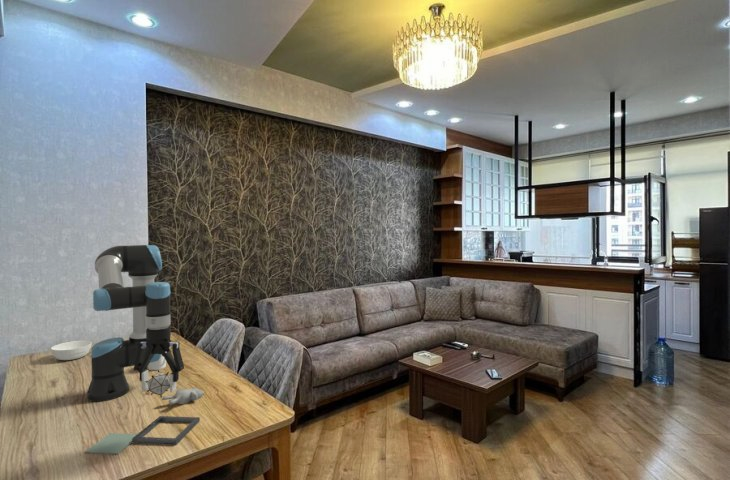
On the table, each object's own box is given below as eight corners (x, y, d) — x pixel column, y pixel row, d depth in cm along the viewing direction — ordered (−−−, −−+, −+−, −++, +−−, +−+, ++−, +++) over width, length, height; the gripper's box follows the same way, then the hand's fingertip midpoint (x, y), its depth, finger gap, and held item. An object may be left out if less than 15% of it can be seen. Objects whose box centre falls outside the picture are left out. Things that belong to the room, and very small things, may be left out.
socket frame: (132, 443, 127) (132, 438, 126) (160, 419, 142) (160, 416, 142) (176, 444, 125) (176, 440, 125) (199, 421, 141) (199, 417, 141)
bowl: (98, 356, 214) (98, 343, 214) (58, 366, 198) (58, 352, 198) (84, 350, 224) (83, 338, 224) (45, 359, 208) (45, 346, 208)
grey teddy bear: (207, 389, 160) (172, 397, 148) (206, 401, 160) (170, 410, 148) (196, 383, 166) (161, 391, 154) (195, 395, 166) (159, 404, 154)
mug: (143, 369, 193) (142, 349, 193) (158, 363, 201) (158, 344, 201) (158, 372, 189) (158, 352, 189) (173, 366, 197) (173, 347, 197)
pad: (85, 452, 121) (85, 451, 121) (110, 434, 132) (110, 433, 132) (117, 454, 120) (117, 452, 120) (140, 435, 131) (140, 434, 131)
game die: (156, 403, 134) (154, 376, 138) (180, 394, 134) (176, 367, 139) (141, 401, 126) (138, 372, 130) (166, 391, 126) (162, 362, 131)
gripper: (120, 329, 128) (121, 394, 129) (183, 330, 127) (184, 395, 128) (134, 323, 136) (135, 385, 137) (194, 324, 135) (195, 386, 136)
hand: (159, 390), depth 132 cm, fingers closed on game die, 9 cm apart
